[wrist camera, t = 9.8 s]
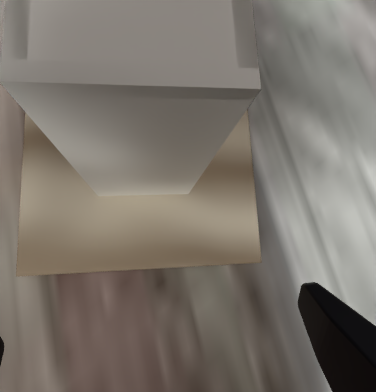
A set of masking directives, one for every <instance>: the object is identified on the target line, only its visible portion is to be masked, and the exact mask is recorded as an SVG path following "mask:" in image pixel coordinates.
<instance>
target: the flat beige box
mask: <svg viewBox="0 0 376 392" xmlns="http://www.w3.org/2000/svg"><path fill="white" fill-rule="evenodd" d="M246 263H262V262H261V251H260V240H259V229H258V218H257V207H256V196H255V185H254V175H253V164H252V153H251V142H250V131H249V120H248V109H247V110H246V112H245V113H244V115H243V116H242V117H241V119H240V120H239V122H238V123H237V125H236V126H235V128H234V129H233V130H232V132H231V133H230V135H229V136H228V138H227V139H226V140H225V142H224V143H223V145H222V146H221V148H220V149H219V151H218V152H217V153H216V155H215V156H214V158H213V159H212V161H211V162H210V164H209V165H208V166H207V168H206V169H205V171H204V172H203V174H202V175H201V177H200V178H199V179H198V181H197V182H196V184H195V185H194V187H193V188H192V189H191V191H190V192H189V194H168V195H123V196H98V195H97V194H96V193H95V192H94V191H93V190H92V188H91V187H90V186H89V185H88V184H87V183H86V182H85V180H84V179H83V178H82V177H81V176H80V175H79V173H78V172H77V171H76V170H75V169H74V168H73V167H72V165H71V164H70V163H69V162H68V161H67V160H66V158H65V157H64V156H63V155H62V154H61V153H60V151H59V150H58V149H57V148H56V147H55V146H54V145H53V143H52V142H51V141H50V140H49V139H48V138H47V136H46V135H45V134H44V133H43V132H42V131H41V129H40V128H39V127H38V126H37V125H36V124H35V123H34V121H33V120H32V119H31V118H30V117H29V116H28V114H27V113H26V112H25V127H24V144H23V162H22V180H21V197H20V215H19V233H18V250H17V268H16V276H34V275H51V274H69V273H87V272H104V271H122V270H140V269H157V268H175V267H193V266H210V265H228V264H246Z"/></svg>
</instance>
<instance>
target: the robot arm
mask: <svg viewBox="0 0 376 392" xmlns="http://www.w3.org/2000/svg"><path fill="white" fill-rule="evenodd" d="M298 307H299V311H300V313H301V316H302V319H303V322H304V325H305V327H306V330H307V333H308V336H309V338H310V341H311V344H312V347H313V350H314V352H315V355H316V357H317V360H318V362H319V364H320V367H321V369H322V371H323V373H324V375H325V377H326V379H327V381H328V383H329V385H330V388H331V390H332V392H376V326H375V325H373V324H372V323H371V322H369V321H368V320H367V319H365V318H364V317H363V316H361V315H360V314H359V313H357V312H356V311H355V310H353V309H352V308H350V307H349V306H348V305H346V304H345V303H344V302H342V301H341V300H340V299H338V298H337V297H336V296H334V295H333V294H332V293H330V292H329V291H328V290H326V289H325V288H323V287H322V286H321V285H319V284H318V283H316V282H311V283H304V284H303V285H302V286H301V290H300V294H299V298H298ZM3 352H4V342H3V340H2V338H1V337H0V365H1V361H2V356H3Z"/></svg>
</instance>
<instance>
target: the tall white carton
mask: <svg viewBox="0 0 376 392" xmlns="http://www.w3.org/2000/svg"><path fill="white" fill-rule="evenodd" d="M0 83H1V84H2V86H3V87H4V88H5V89H6V90H7V91H8V92H9V94H10V95H11V96H12V97H13V98H14V99H15V101H16V102H17V103H18V104H19V105H20V106H21V108H22V109H23V110H24V111H25V112H26V113H27V114H28V116H29V117H30V118H31V119H32V120H33V121H34V123H35V124H36V125H37V126H38V127H39V128H40V129H41V131H42V132H43V133H44V134H45V135H46V136H47V138H48V139H49V140H50V141H51V142H52V143H53V145H54V146H55V147H56V148H57V149H58V150H59V151H60V153H61V154H62V155H63V156H64V157H65V158H66V160H67V161H68V162H69V163H70V164H71V165H72V167H73V168H74V169H75V170H76V171H77V172H78V173H79V175H80V176H81V177H82V178H83V179H84V180H85V182H86V183H87V184H88V185H89V186H90V187H91V188H92V190H93V191H94V192H95V193H96V194H97V195H98V196H123V195H168V194H189V192H190V191H191V189H192V188H193V187H194V185H195V184H196V182H197V181H198V179H199V178H200V177H201V175H202V174H203V172H204V171H205V169H206V168H207V166H208V165H209V164H210V162H211V161H212V159H213V158H214V156H215V155H216V153H217V152H218V151H219V149H220V148H221V146H222V145H223V143H224V142H225V140H226V139H227V138H228V136H229V135H230V133H231V132H232V130H233V129H234V128H235V126H236V125H237V123H238V122H239V120H240V119H241V117H242V116H243V115H244V113H245V112H246V110H247V109H248V107H249V106H250V104H251V103H252V102H253V100H254V99H255V97H256V96H257V94H258V93H259V91H260V90H261V82H260V72H259V63H258V53H257V43H256V34H255V24H254V14H253V4H252V0H5V6H4V20H3V33H2V46H1V60H0Z"/></svg>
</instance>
